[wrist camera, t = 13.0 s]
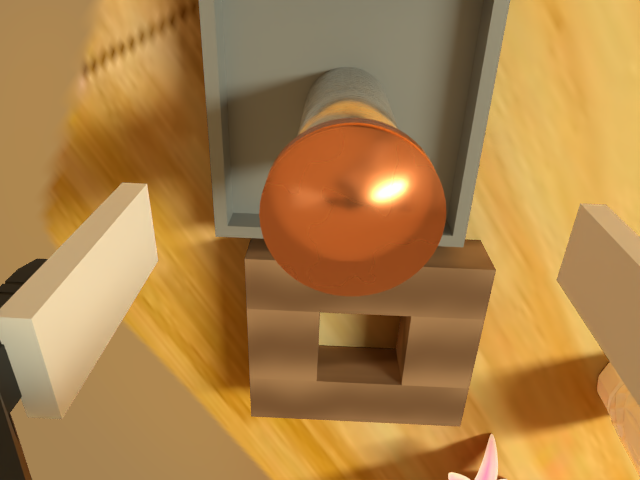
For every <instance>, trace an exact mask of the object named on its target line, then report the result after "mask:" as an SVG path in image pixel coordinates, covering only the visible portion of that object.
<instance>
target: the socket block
mask: <svg viewBox="0 0 640 480" xmlns="http://www.w3.org/2000/svg"><path fill="white" fill-rule="evenodd" d="M495 272H496V269H495V268H494V266H493V264H492V262H491V260H490V258H489V256H488V254H487V252H486V250H485V248H484V246H483V244H482V242H481V240H465V242H464V247H444V246H438V247H437V248H436V250H435V252H434V254H433V255H432V256H431V258H430V259H429V261H428V262H427V263H426V264H425V265H424V266H423V267H422V268H421V269H420V270H419V271H418V272H417V273H416V274H415V275H413V276H412V277H411V278H409V279H408V280H406V281H405V282H403V283H401V284H400V285H398V286H395V287H393V288H391V289H389V290H386V291H383V292H380V293H376V294H371V295H365V296H338V295H332V294H327V293H323V292H320V291H317V290H314V289H312V288H310V287H308V286H306V285H304V284H302V283H300V282H299V281H297V280H295V279H294V278H293V277H292V276H290V275H289V274H288V273H287V272H285V270H284V269H283V268H282V267H281V266H280V265H279V264H278V263H277V262H276V260H275V259H274V258H273V256H272V255H271V253H270V251H269V249H268V248H267V246H266V243H265V241H264V239H261V238H251V241H250V244H249V247H248V250H247V253H246V256H245V280H246V304H247V327H248V350H249V373H250V396H251V416H254V417H275V418H296V419H316V420H337V421H358V422H379V423H399V424H420V425H441V426H460V425H461V421H462V416H463V412H464V408H465V403H466V399H467V394H468V390H469V386H470V381H471V377H472V372H473V368H474V364H475V359H476V355H477V351H478V346H479V342H480V337H481V333H482V329H483V324H484V320H485V316H486V311H487V307H488V302H489V298H490V294H491V289H492V285H493V280H494V276H495ZM320 312H326V313H348V314H370V315H392V316H400V323H399V330H398V338H397V346H396V349H383V348H361V347H339V346H318V345H319V319H320Z"/></svg>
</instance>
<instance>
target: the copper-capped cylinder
mask: <svg viewBox="0 0 640 480" xmlns="http://www.w3.org/2000/svg"><path fill="white" fill-rule="evenodd" d="M259 218H260V227H261V231H262V235H263V238H264V241H265V243H266V246H267V248H268V249H269V251H270V253H271V255H272V256H273V258H274V259H275V260H276V262H277V263H278V264H279V265H280V266H281V267H282V268H283V269H284V270H285V272H287V273H288V274H289V275H290V276H292V277H293V278H294V279H295V280H297V281H299V282H300V283H302V284H304V285H306V286H308V287H310V288H312V289H314V290H317V291H320V292H323V293H327V294H332V295H338V296H365V295H371V294H376V293H380V292H383V291H386V290H389V289H391V288H393V287H395V286H398V285H400V284H401V283H403V282H405V281H406V280H408V279H409V278H411V277H412V276H413V275H415V274H416V273H417V272H418V271H419V270H420V269H421V268H422V267H423V266H424V265H425V264H426V263H427V262H428V261H429V259H430V258H431V256H432V255H433V254H434V252H435V250H436V248H437V247H438V245H439V242H440V240H441V237H442V235H443V231H444V227H445V222H446V200H445V195H444V190H443V187H442V185H441V182H440V179H439V177H438V175H437V173H436V171H435V169H434V166H433V165H432V163H431V161H430V159H429V157H428V156H427V154H426V153H425V152H424V150H423V149H422V148H421V147H420V146H419V145H418V144H417V143H416V142H415V141H414V140H413V139H412V138H411V137H409V136H408V135H407V134H405V133H404V132H402V131H401V130H399V129H398V127H397V124H396V122H395V119H394V116H393V113H392V111H391V108H390V105H389V102H388V100H387V97H386V94H385V92H384V89H383V88H382V86H381V84H380V83H379V82H378V80H377V79H376V78H375V77H373V76H372V75H371V74H370V73H368V72H366V71H364V70H362V69H359V68H355V67H340V68H335V69H332V70H330V71H328V72H326V73H325V74H323V75H322V76H320V77H319V78H318V79H317V80H316V81H315V82H314V84H313V85H312V87H311V88H310V90H309V92H308V95H307V98H306V102H305V106H304V110H303V114H302V119H301V123H300V127H299V131H298V135H297V137H295V138H294V139H293V140H292V141H290V142H289V143H288V144H287V145H286V147H285V148H284V149H283V150H282V151H281V152H280V154H279V155H278V156H277V158H276V159H275V161H274V163H273V165H272V167H271V169H270V171H269V174H268V177H267V180H266V183H265V186H264V189H263V192H262V195H261V201H260V210H259Z"/></svg>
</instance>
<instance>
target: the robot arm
mask: <svg viewBox="0 0 640 480" xmlns="http://www.w3.org/2000/svg"><path fill="white" fill-rule="evenodd" d="M157 262H158V256H157V249H156V242H155V235H154V228H153V221H152V214H151V207H150V200H149V193H148V187H147V184H141V183H121V184H120V185H119V187H118V188H117V189H116V190H115V191H114V192H113V193H112V194H111V195H110V196H109V197H108V198H107V199H106V200H105V201H104V202H103V203H102V204H101V205H100V206H99V207H98V208H97V209H96V210H95V211H94V212H93V213H92V214H91V215H90V216H89V217H88V218H87V220H86V221H85V222H84V223H83V224H82V225H81V226H80V227H79V228H78V229H77V230H76V231H75V232H74V233H73V234H72V235H71V236H70V237H69V238H68V239H67V240H66V241H65V242H64V243H63V244H62V245H61V246H60V247H59V248H58V249H57V250H56V251H55V253H54V254H53V255H52V256H51V257H50V258H49V259H36V260H34V261H32V262H30V263H28V264H26V265H25V266H23V267H21V268H19V269H18V270H17V271H16V272H15V273H13V274H12V276H10V277H9V278H8V279H7V280H6V281H5V284H2V285H1V286H0V480H32V478H31V475H30V473H29V469H28V466H27V463H26V460H25V457H24V454H23V450H22V447H21V444H20V441H19V438H18V435H17V432H16V429H15V426H14V423H13V420H12V418H11V415H10V412H11V411H12V409H13V408H14V407H15V405H16V404H17V403H18V401H19V400H20V398H21V400H22V403H23V406H24V408H25V411H26V414H27V417H32V418H49V419H63V417H64V415H65V414H66V412H67V410H68V409H69V407H70V405H71V404H72V402H73V400H74V399H75V397H76V395H77V394H78V392H79V391H80V389H81V387H82V385H83V384H84V382H85V381H86V379H87V377H88V376H89V374H90V372H91V371H92V369H93V367H94V366H95V364H96V362H97V361H98V359H99V357H100V356H101V354H102V352H103V351H104V349H105V347H106V346H107V344H108V343H109V341H110V339H111V338H112V336H113V334H114V333H115V331H116V329H117V328H118V326H119V324H120V323H121V321H122V320H123V318H124V316H125V315H126V313H127V311H128V310H129V308H130V306H131V305H132V303H133V301H134V300H135V298H136V296H137V295H138V293H139V291H140V290H141V288H142V287H143V285H144V283H145V282H146V280H147V278H148V277H149V275H150V273H151V272H152V270H153V268H154V267H155V265H156V263H157ZM557 281H558V283H559V284H560V286H561V287H562V289H563V291H564V292H565V294H566V295H567V297H568V298H569V300H570V301H571V303H572V304H573V306H574V307H575V309H576V310H577V312H578V314H579V315H580V317H581V318H582V320H583V321H584V323H585V324H586V326H587V327H588V329H589V330H590V332H591V333H592V335H593V336H594V338H595V340H596V341H597V343H598V344H599V346H600V347H601V349H602V350H603V352H604V353H605V355H606V356H607V358H608V359H609V361H610V363H611V364H612V366H613V367H614V369H615V370H616V372H617V373H618V375H619V376H620V378H621V379H622V381H623V382H624V384H625V386H626V387H627V389H628V390H629V392H630V393H631V395H632V396H633V398H634V399H635V401H636V402H637V404H638V405H639V407H640V237H639V236H638V235H637V234H636V233H635V232H634V231H633V230H632V229H631V228H630V227H629V226H628V225H627V224H626V223H625V222H624V221H623V220H621V219H620V218H619V217H618V216H617V215H616V214H615V213H614V212H613V211H612V210H611V209H610V208H609V207H608V206H607V205H601V204H580V206H579V210H578V213H577V216H576V219H575V222H574V226H573V229H572V232H571V235H570V239H569V242H568V245H567V248H566V252H565V255H564V258H563V261H562V264H561V268H560V271H559V274H558V277H557Z"/></svg>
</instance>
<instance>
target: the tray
mask: <svg viewBox="0 0 640 480" xmlns="http://www.w3.org/2000/svg"><path fill="white" fill-rule="evenodd" d="M509 3H510V0H199V13H200V26H201V40H202V54H203V68H204V82H205V96H206V109H207V123H208V137H209V151H210V165H211V178H212V192H213V206H214V220H215V234H216V237H238V238H261V239H264V238H263V235H262V231H261V227H260V218H259V210H260V201H261V195H262V192H263V189H264V186H265V183H266V180H267V177H268V174H269V171H270V169H271V167H272V165H273V163H274V161H275V159H276V158H277V156H278V155H279V154H280V152H281V151H282V150H283V149H284V148H285V147H286V145H287V144H288V143H289V142H290V141H292V140H293V139H294V138H295V137H297V135H298V131H299V127H300V123H301V119H302V114H303V110H304V106H305V102H306V98H307V95H308V92H309V90H310V88H311V87H312V85H313V84H314V82H315V81H316V80H317V79H318V78H319V77H320V76H322V75H323V74H325V73H326V72H328V71H330V70H332V69H335V68H340V67H355V68H359V69H362V70H364V71H366V72H368V73H370V74H371V75H372V76H373V77H375V78H376V79H377V80H378V82H379V83H380V84H381V86H382V88H383V89H384V92H385V94H386V97H387V100H388V102H389V105H390V108H391V111H392V113H393V116H394V119H395V122H396V124H397V127H398V129H399V130H401V131H402V132H404V133H405V134H407V135H408V136H409V137H411V138H412V139H413V140H414V141H415V142H416V143H417V144H418V145H419V146H420V147H421V148H422V149H423V150H424V152H425V153H426V154H427V156H428V157H429V159H430V161H431V163H432V165H433V166H434V169H435V171H436V173H437V175H438V177H439V179H440V182H441V185H442V187H443V190H444V195H445V200H446V222H445V227H444V231H443V235H442V237H441V240H440V242H439V245H438V246H444V247H464V242H465V237H466V231H467V226H468V221H469V215H470V210H471V205H472V200H473V194H474V189H475V184H476V178H477V173H478V168H479V162H480V157H481V152H482V146H483V141H484V136H485V131H486V125H487V120H488V115H489V109H490V104H491V99H492V93H493V88H494V83H495V78H496V72H497V67H498V62H499V56H500V51H501V46H502V40H503V35H504V30H505V25H506V19H507V14H508V9H509Z"/></svg>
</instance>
